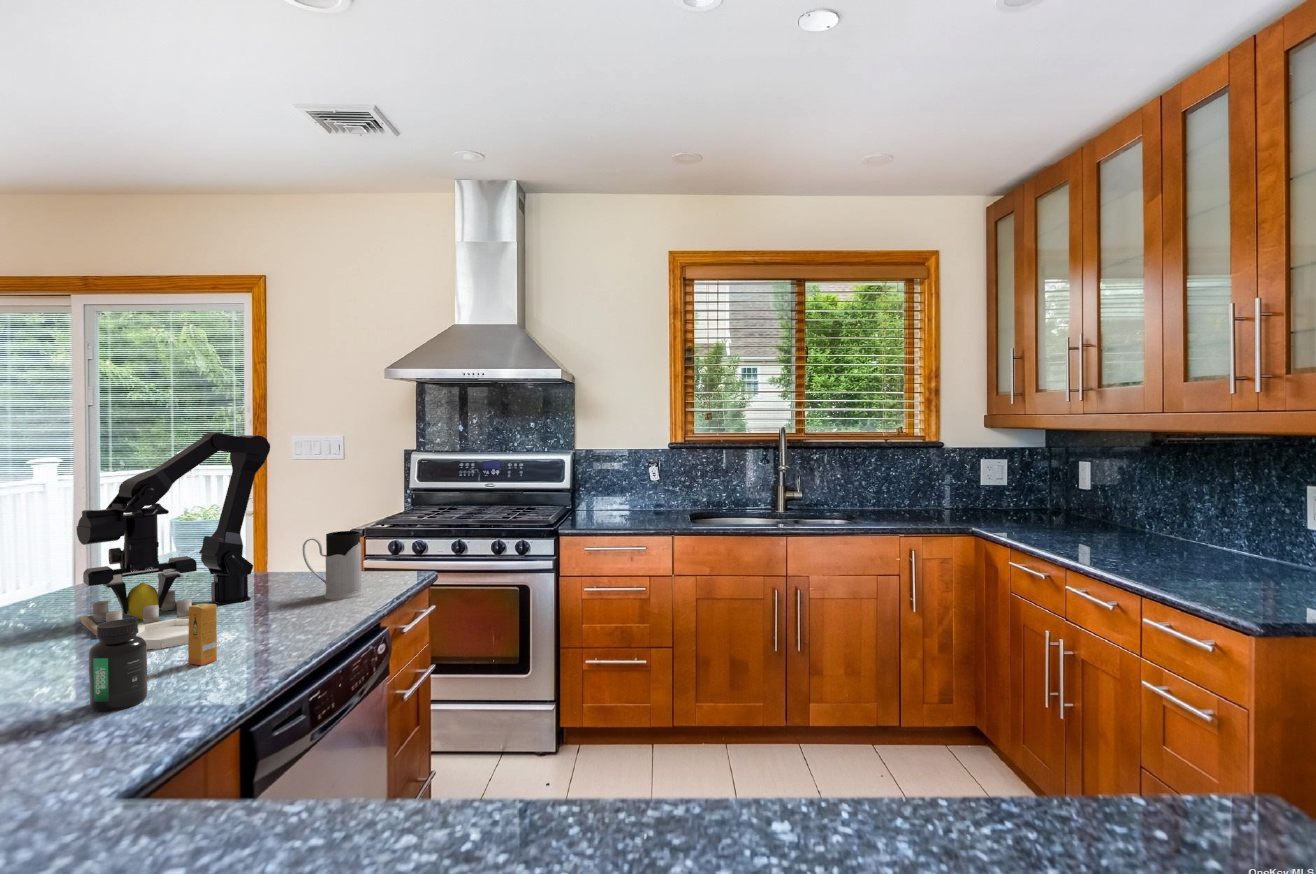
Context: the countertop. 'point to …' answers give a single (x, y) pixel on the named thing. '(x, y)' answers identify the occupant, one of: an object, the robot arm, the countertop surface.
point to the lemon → (141, 599)
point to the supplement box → (202, 634)
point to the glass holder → (341, 565)
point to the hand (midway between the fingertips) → (142, 610)
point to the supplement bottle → (117, 667)
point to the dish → (165, 633)
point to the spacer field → (149, 615)
